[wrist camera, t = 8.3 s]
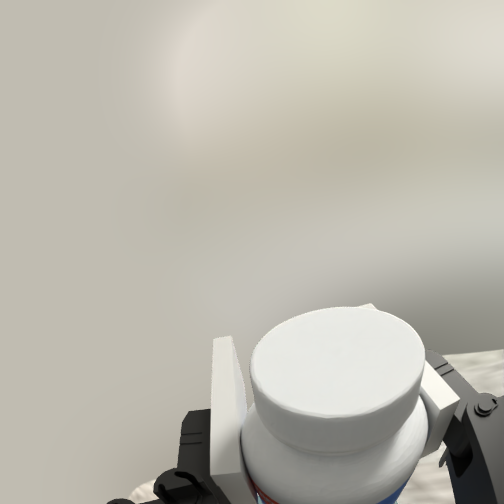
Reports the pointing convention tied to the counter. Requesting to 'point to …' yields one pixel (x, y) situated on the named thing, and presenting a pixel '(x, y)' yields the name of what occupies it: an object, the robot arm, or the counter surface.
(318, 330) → the pill bottle
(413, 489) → the counter surface
